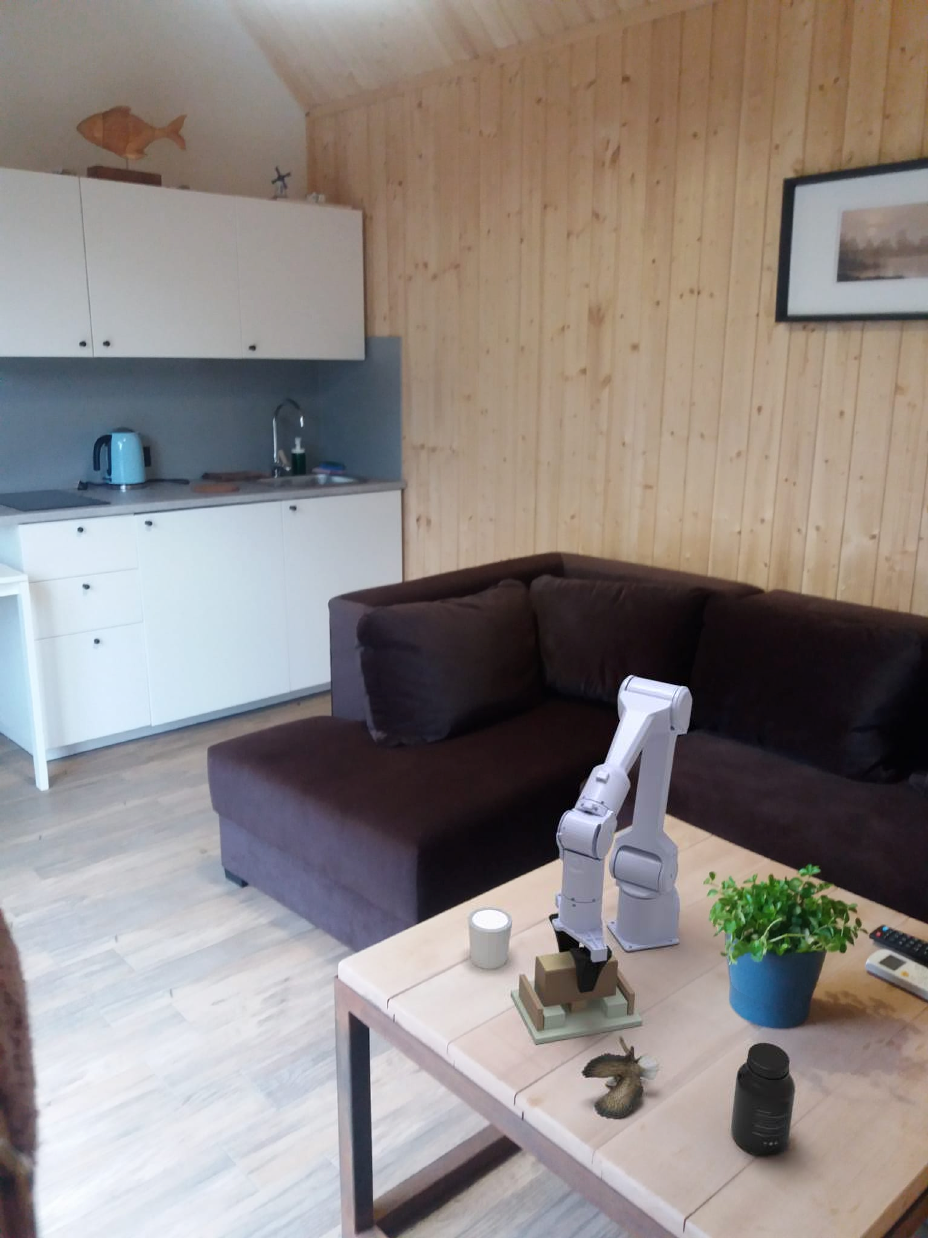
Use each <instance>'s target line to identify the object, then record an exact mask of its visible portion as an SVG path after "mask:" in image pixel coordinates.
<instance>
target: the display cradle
mask: <svg viewBox="0 0 928 1238" xmlns="http://www.w3.org/2000/svg"><path fill="white" fill-rule="evenodd" d="M518 981H519V982H518V989H517V988H516V989H511V990H510V997H511V998H512V1001H513V1002H514V1004H515V1006H516V1008H517V1010H518V1012H519V1015H520V1017H521V1018H522V1020H523V1023H524V1024H525V1026H526V1027H527V1030H528V1032H529V1034H530V1036H531V1037H532V1040H533V1042H534V1044H535V1045H539V1044H545V1043H551V1042H557V1041H562V1040H568V1039H573V1038H579V1037H584V1036H589V1035H595V1034H601V1033H607V1032H612V1031H618V1030H622V1029H623V1030H624V1029H630V1028H635V1027H640V1026H643V1019H642V1018H641V1016H640V1015H639V1014H638V1011H636V1008H635V999H636V992H635V990H634V989H633V988H632V986H631V985H630V983H629V982H628V981H627V979H626V978H625V976H624V975H623V974H622V972H621V971H620V968H618V971H617V985H616V995H613V996H607V997H601V998H595V999H589V1000H583V1001H578V1002H572V1003H566V1004H560V1005H554V1006H548V1007H543V1005H542V1003H541V1001H540V1000H539V998H538V996H537V994H536V992H535V990H534V981H535V979H534V980H529V979H528V977H527V975H526V974H525V973H521V974H519V977H518Z"/></svg>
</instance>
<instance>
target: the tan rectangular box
mask: <svg viewBox="0 0 928 1238" xmlns="http://www.w3.org/2000/svg"><path fill="white" fill-rule="evenodd" d="M534 962H535V963H534V965H535V966H534V980H535V981H534V980H533V981H534V990H535V992H536V994H537V996H538V998H539V1000H540V1001H541V1003H542V1005H543V1007H548V1006H554V1005H560V1004H566V1003H572V1002H578V1001H583V1000H589V999H595V998H601V997H607V996H613V995H616V985H617V971H618V969H619V967H618V966H619V961H618V960H617V958H616V956H615V955H614V953H612V957H611V959H610V960H609V961H608V962H607V963H606V964H605V966H604V967H603V969H602V971H601V973H600V975H599V978H598V980H597V983H596V986H595V988H594V991H591V992H585V993H580V991H579V989H578V986H577V974H576V967H575V963H574V960H573V957H572V955H571V953H570V951H568V952H561V953H559V952H555V953H549V954H543V955H542V954H541V955H537V956H535V961H534Z"/></svg>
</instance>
